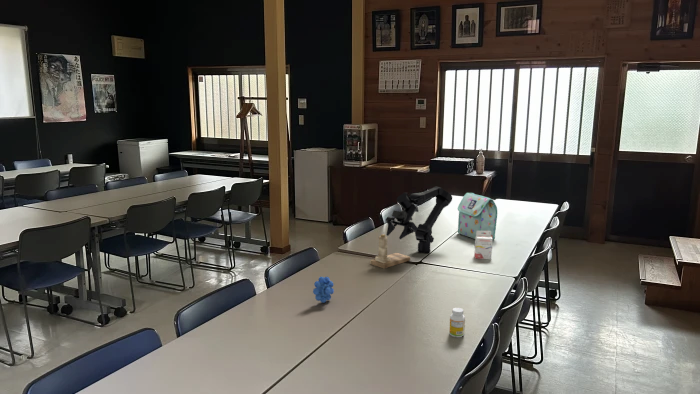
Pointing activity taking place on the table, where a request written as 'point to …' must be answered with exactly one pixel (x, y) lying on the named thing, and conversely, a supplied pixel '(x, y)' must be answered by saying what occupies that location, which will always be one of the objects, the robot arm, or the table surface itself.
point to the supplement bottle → (457, 322)
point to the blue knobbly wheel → (323, 289)
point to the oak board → (392, 260)
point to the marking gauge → (382, 250)
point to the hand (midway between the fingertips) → (393, 237)
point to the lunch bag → (476, 215)
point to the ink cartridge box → (483, 245)
